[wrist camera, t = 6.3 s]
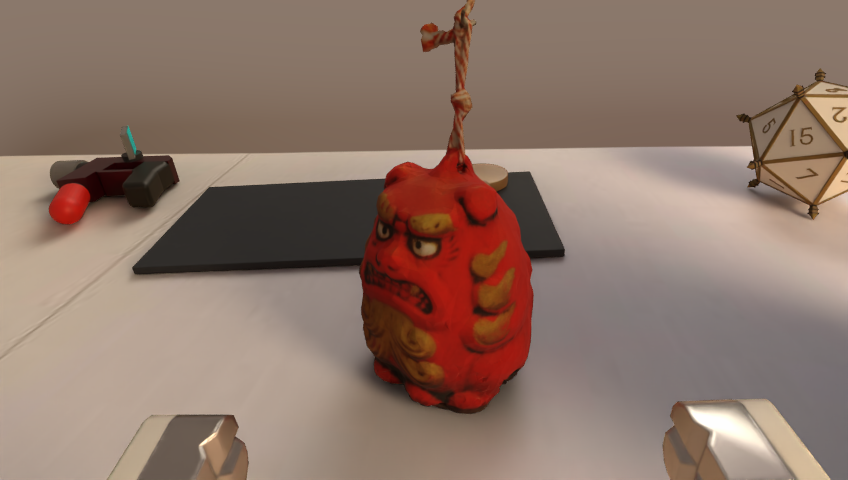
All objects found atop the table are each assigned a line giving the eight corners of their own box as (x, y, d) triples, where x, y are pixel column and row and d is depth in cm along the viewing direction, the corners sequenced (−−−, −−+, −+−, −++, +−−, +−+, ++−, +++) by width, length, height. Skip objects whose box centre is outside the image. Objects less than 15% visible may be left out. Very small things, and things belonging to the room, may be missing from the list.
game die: (760, 232, 37) (767, 104, 38) (920, 231, 30) (923, 76, 31) (710, 209, 32) (720, 60, 33) (891, 200, 25) (897, 14, 26)
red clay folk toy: (335, 366, 22) (261, -2, 15) (430, 290, 27) (411, -20, 19) (477, 454, 18) (474, -4, 10) (562, 345, 23) (601, -26, 15)
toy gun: (69, 181, 45) (46, 128, 42) (195, 177, 44) (179, 123, 41) (-22, 233, 36) (-57, 172, 34) (132, 230, 35) (106, 166, 33)
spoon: (531, 253, 29) (532, 238, 28) (462, 256, 29) (462, 241, 28) (504, 171, 39) (504, 159, 39) (454, 173, 40) (454, 162, 39)
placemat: (134, 274, 30) (131, 267, 30) (210, 192, 41) (209, 186, 40) (564, 256, 29) (565, 249, 29) (529, 177, 39) (530, 171, 39)
